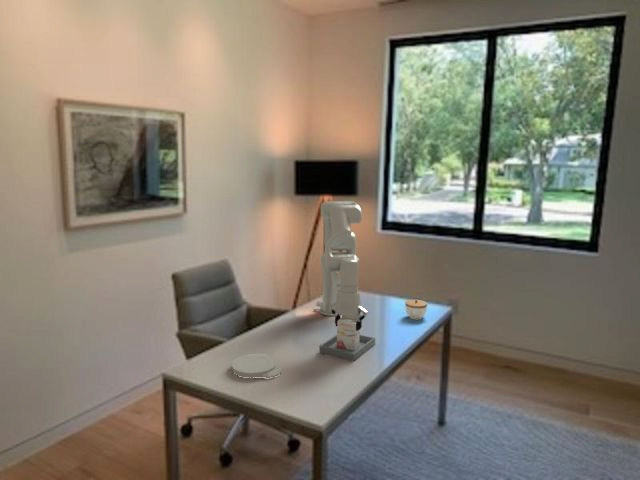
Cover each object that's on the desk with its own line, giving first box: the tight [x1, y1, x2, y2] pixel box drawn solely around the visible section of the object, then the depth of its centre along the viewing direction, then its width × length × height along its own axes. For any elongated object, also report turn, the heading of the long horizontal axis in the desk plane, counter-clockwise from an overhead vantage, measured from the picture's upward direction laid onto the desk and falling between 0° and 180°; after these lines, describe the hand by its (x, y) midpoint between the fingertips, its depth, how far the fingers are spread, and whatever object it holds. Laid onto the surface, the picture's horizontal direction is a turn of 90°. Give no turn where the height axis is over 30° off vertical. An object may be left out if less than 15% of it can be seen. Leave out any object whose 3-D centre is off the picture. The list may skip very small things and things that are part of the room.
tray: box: [318, 333, 376, 362], centre depth 204 cm, size 16×20×3 cm
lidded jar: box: [404, 299, 428, 321], centre depth 242 cm, size 11×11×9 cm
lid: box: [230, 353, 282, 378], centre depth 184 cm, size 17×20×3 cm
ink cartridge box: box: [336, 315, 360, 351], centre depth 203 cm, size 9×5×15 cm, turn 64°
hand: (348, 327), depth 202 cm, fingers open, 9 cm apart
